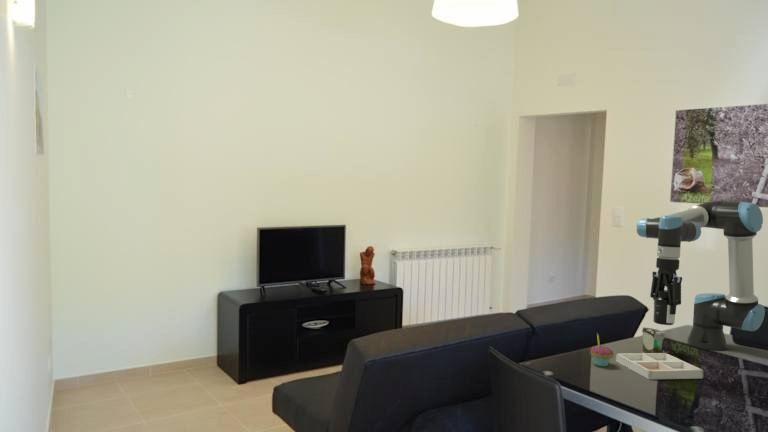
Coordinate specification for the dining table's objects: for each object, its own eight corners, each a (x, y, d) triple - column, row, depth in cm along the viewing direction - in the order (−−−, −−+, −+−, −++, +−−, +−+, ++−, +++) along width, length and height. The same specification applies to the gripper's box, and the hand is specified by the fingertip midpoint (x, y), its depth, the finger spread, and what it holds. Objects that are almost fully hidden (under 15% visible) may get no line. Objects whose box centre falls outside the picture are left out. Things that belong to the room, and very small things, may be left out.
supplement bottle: (649, 320, 218) (651, 288, 218) (665, 321, 219) (667, 289, 219) (661, 325, 212) (663, 292, 211) (678, 325, 213) (680, 292, 212)
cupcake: (587, 365, 223) (589, 334, 223) (591, 359, 231) (592, 329, 230) (611, 369, 219) (613, 337, 219) (614, 363, 227) (616, 332, 226)
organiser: (665, 360, 234) (665, 353, 233) (703, 378, 213) (703, 370, 212) (615, 361, 230) (616, 353, 230) (649, 379, 209) (649, 371, 209)
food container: (669, 360, 235) (670, 335, 234) (653, 359, 235) (655, 334, 234) (655, 351, 247) (657, 327, 246) (640, 350, 247) (642, 327, 247)
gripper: (642, 254, 223) (638, 314, 224) (676, 261, 204) (672, 326, 205) (660, 255, 225) (656, 314, 226) (696, 261, 205) (691, 327, 206)
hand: (663, 320), depth 215 cm, fingers closed on supplement bottle, 7 cm apart
